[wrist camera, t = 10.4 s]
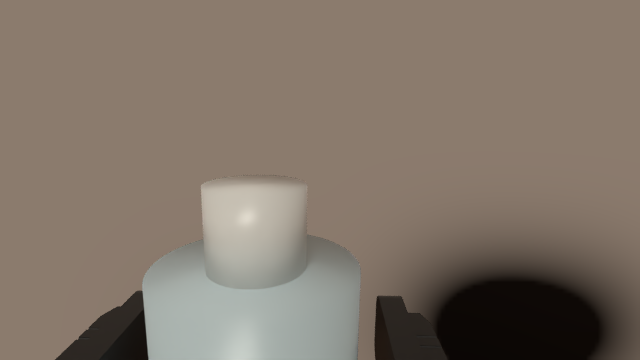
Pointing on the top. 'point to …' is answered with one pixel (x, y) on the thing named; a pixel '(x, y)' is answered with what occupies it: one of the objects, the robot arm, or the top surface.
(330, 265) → the bottle
